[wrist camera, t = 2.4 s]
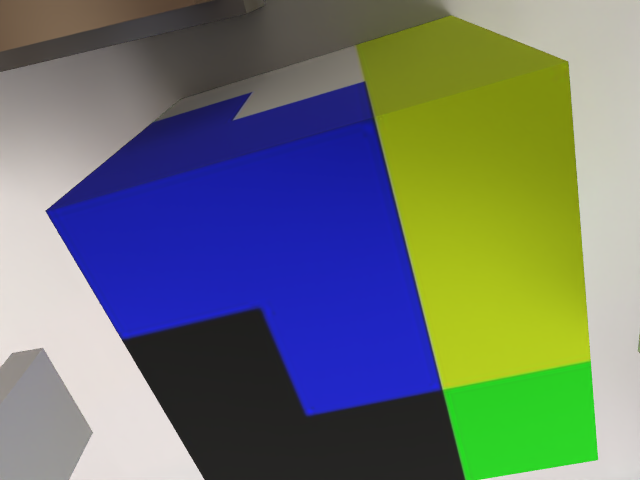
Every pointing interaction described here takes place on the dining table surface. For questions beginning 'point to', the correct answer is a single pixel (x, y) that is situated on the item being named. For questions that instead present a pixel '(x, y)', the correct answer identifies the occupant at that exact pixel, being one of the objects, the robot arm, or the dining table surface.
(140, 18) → the plinth
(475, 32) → the puzzle toy
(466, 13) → the dining table surface
